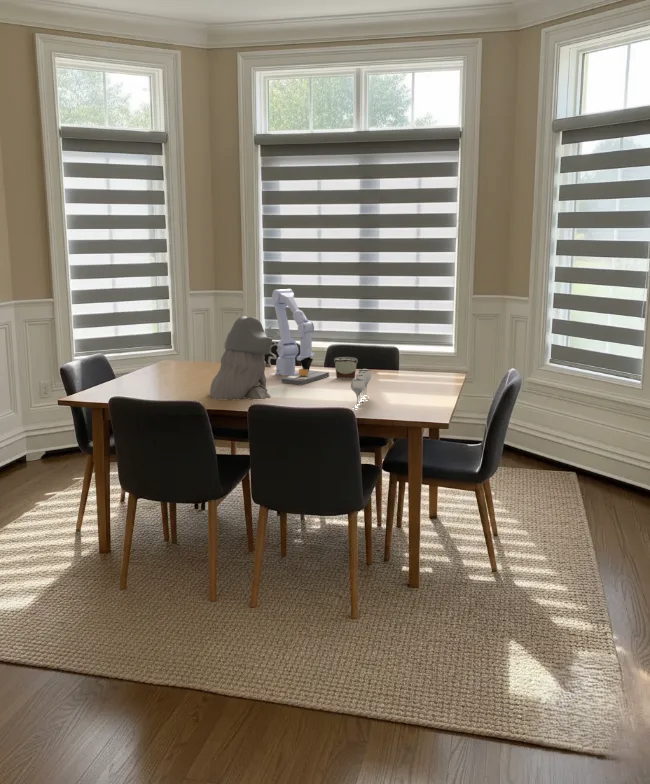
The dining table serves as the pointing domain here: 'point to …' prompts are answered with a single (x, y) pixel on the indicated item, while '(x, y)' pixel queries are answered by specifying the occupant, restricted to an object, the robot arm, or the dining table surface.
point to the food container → (345, 367)
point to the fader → (303, 372)
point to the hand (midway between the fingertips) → (306, 372)
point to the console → (305, 377)
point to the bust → (244, 362)
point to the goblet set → (361, 384)
